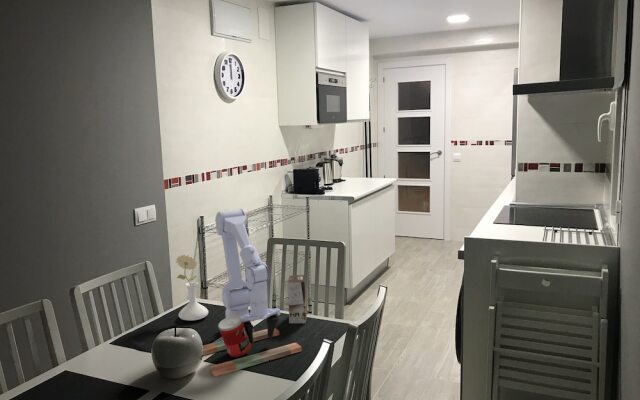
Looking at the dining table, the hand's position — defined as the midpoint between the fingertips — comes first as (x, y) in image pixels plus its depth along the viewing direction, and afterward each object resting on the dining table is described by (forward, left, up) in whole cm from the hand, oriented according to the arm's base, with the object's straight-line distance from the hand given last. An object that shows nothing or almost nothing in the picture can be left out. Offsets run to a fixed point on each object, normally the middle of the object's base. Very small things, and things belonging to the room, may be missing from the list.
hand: (260, 339), depth 174 cm
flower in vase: (-41, -10, -3) cm, 42 cm away
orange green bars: (0, -5, -3) cm, 6 cm away
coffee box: (-15, +23, -3) cm, 28 cm away
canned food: (0, -7, -2) cm, 8 cm away
